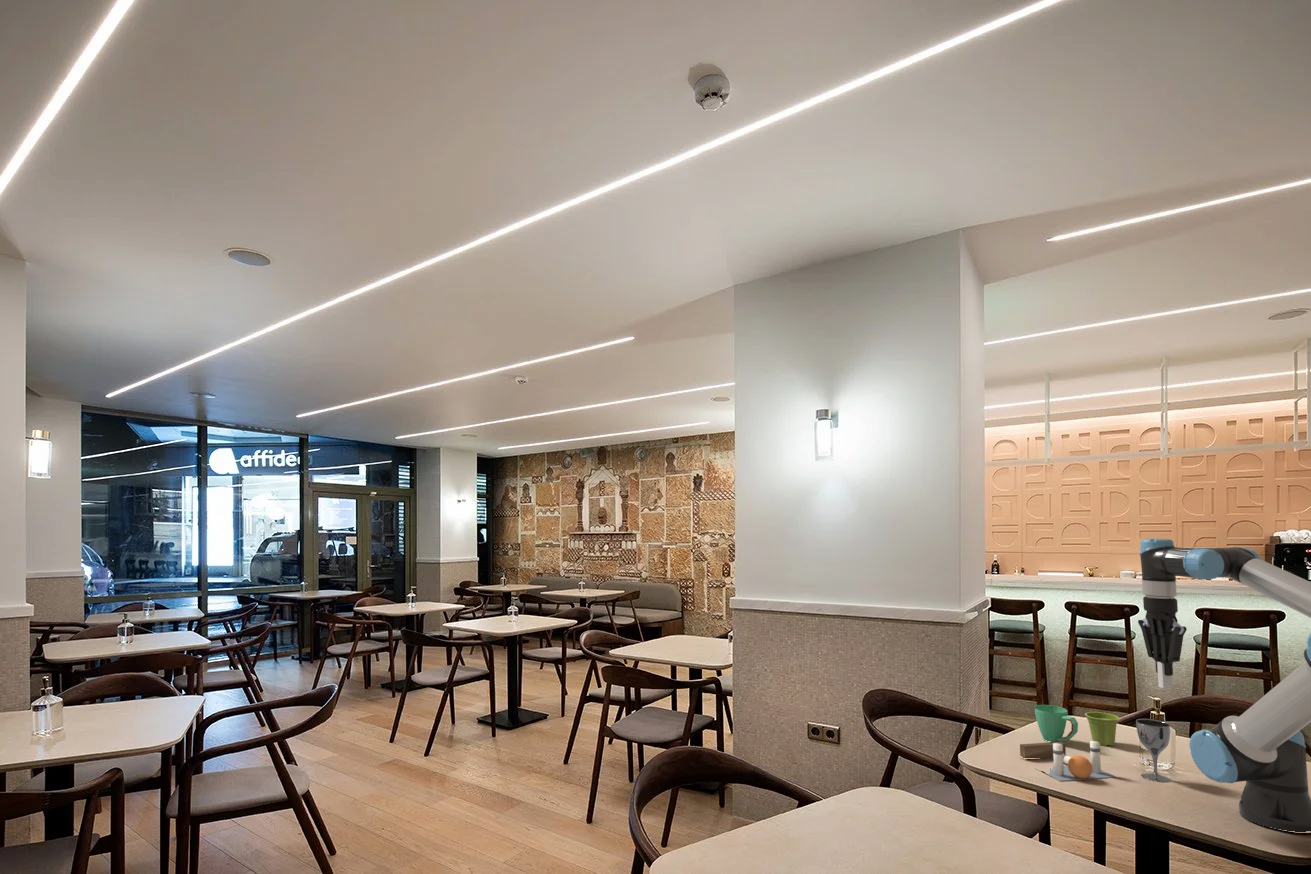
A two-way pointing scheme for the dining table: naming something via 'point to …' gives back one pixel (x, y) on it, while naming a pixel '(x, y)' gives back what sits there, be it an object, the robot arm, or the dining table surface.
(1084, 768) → the brown egg
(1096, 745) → the pin right
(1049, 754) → the back wall
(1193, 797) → the dining table surface
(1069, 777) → the pin deck
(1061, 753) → the pin left
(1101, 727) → the plant pot
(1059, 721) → the mug
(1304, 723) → the robot arm
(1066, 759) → the pin middle
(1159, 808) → the dining table surface
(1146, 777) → the wine glass
